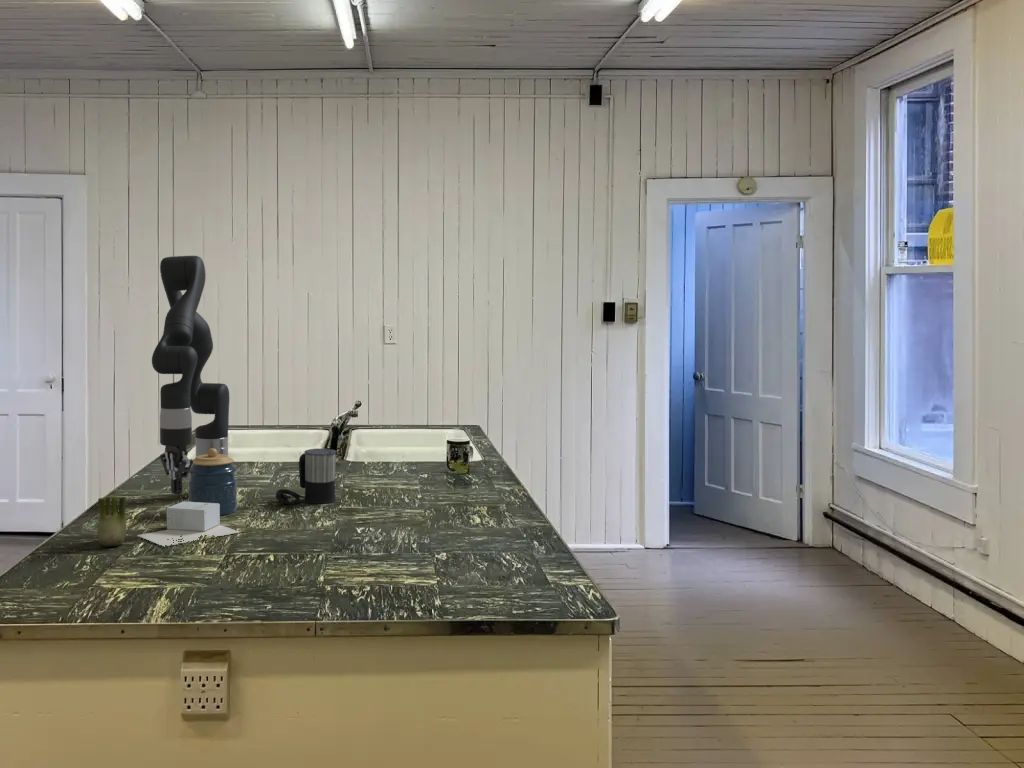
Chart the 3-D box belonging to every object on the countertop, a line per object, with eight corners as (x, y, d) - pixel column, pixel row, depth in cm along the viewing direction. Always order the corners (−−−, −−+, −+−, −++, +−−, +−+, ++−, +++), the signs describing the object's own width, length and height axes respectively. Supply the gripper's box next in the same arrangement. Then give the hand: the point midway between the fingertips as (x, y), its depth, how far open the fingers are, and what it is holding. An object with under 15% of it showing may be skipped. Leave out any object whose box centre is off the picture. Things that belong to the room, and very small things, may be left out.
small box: (166, 529, 233) (204, 532, 231) (165, 507, 233) (203, 510, 231) (183, 522, 241) (220, 524, 239) (183, 500, 241) (220, 503, 239)
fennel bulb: (128, 543, 221) (127, 494, 220) (120, 549, 216) (119, 498, 215) (103, 543, 221) (102, 493, 220) (94, 548, 216) (93, 498, 215)
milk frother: (342, 499, 273) (342, 450, 272) (309, 510, 259) (309, 458, 257) (303, 494, 279) (303, 445, 278) (269, 504, 265) (268, 453, 264)
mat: (211, 523, 242) (211, 521, 242) (240, 533, 232) (240, 531, 232) (137, 536, 227) (137, 535, 227) (164, 548, 218) (164, 546, 218)
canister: (191, 518, 246) (191, 453, 245) (184, 508, 258) (183, 445, 256) (241, 514, 252) (241, 450, 251) (232, 504, 264) (232, 443, 262)
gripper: (203, 427, 230) (203, 495, 231) (177, 421, 239) (178, 487, 240) (174, 429, 224) (175, 500, 226) (149, 423, 233) (150, 491, 235)
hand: (176, 493), depth 233 cm, fingers closed
